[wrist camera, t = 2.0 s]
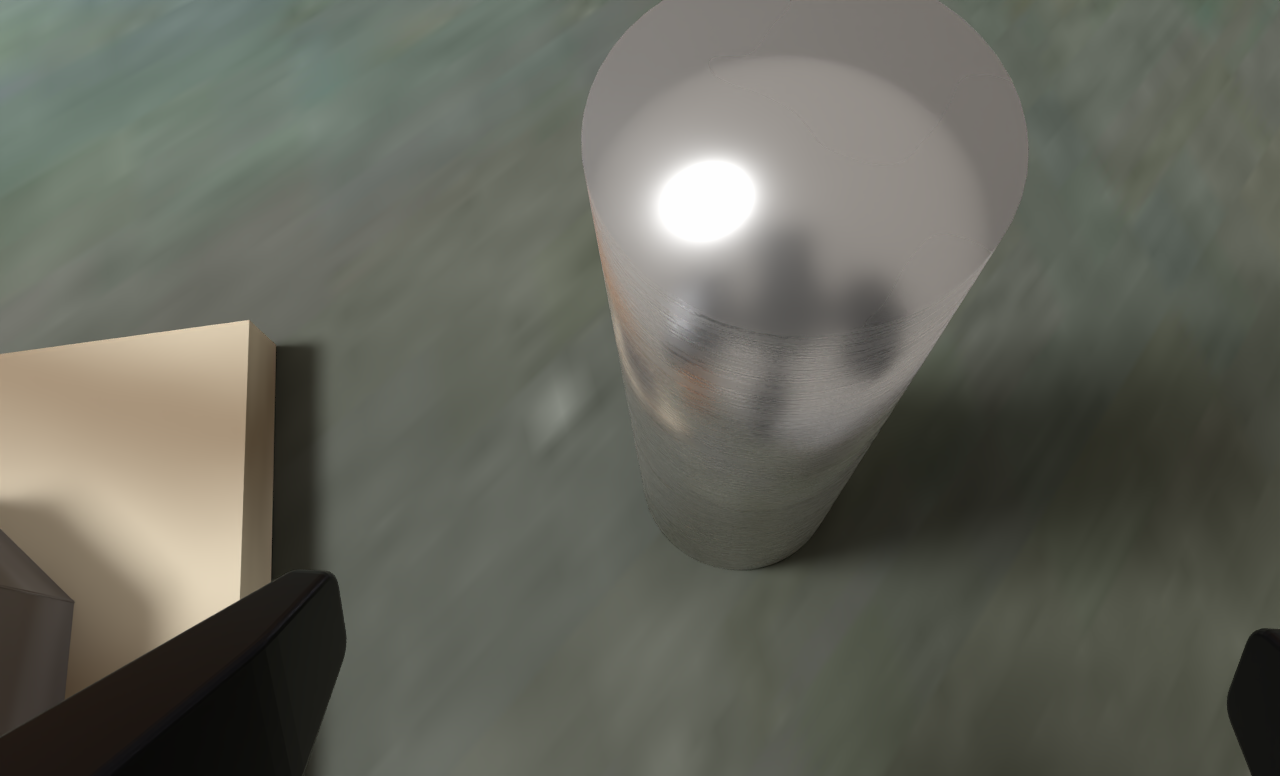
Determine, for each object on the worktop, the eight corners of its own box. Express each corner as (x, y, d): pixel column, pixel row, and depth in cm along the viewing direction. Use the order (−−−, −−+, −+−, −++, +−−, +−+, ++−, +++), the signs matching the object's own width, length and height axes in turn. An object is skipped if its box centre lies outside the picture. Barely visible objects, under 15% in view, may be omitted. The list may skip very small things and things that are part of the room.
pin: (849, 556, 20) (1087, 297, 8) (655, 582, 20) (606, 361, 8) (811, 376, 22) (964, -65, 10) (632, 401, 22) (561, -9, 10)
